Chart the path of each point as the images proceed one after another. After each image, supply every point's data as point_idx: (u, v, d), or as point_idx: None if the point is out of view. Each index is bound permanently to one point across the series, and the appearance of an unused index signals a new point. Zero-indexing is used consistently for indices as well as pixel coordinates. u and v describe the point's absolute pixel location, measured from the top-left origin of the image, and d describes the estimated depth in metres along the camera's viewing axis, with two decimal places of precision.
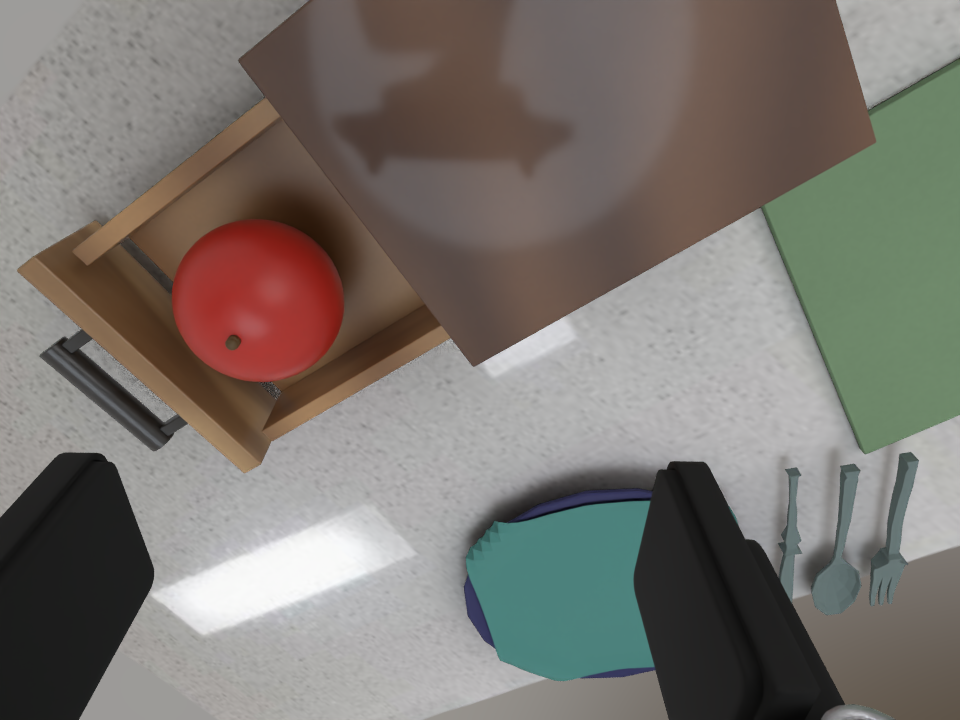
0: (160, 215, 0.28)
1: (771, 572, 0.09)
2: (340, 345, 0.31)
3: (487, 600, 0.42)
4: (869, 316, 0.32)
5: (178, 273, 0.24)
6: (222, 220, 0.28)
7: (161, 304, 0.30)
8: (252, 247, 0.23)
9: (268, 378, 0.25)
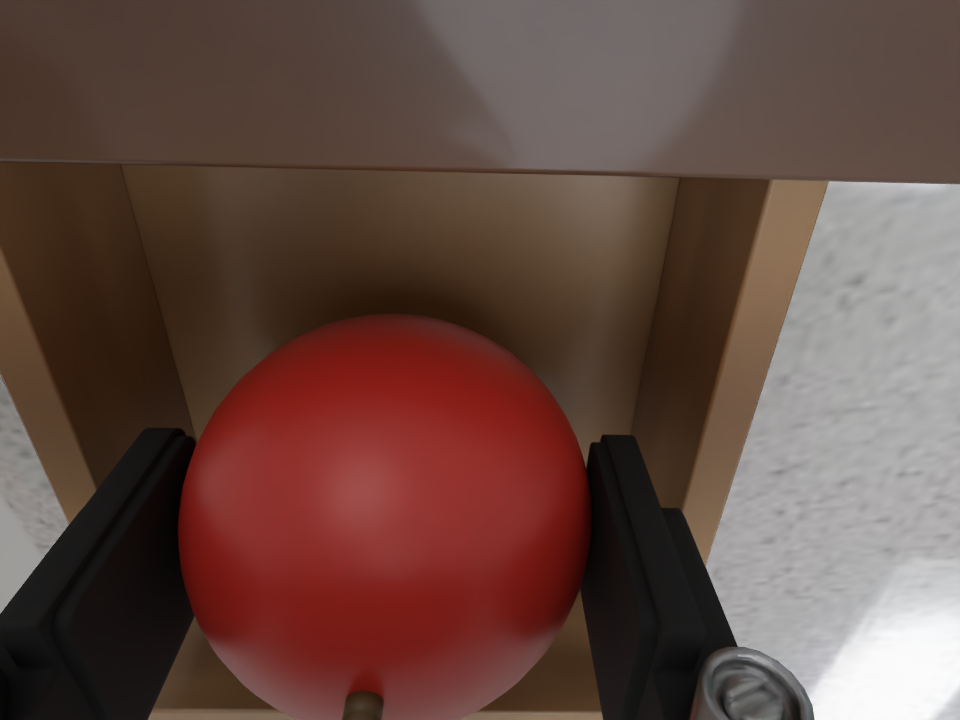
0: None
1: (688, 536, 0.09)
2: (614, 414, 0.14)
3: None
4: None
5: None
6: None
7: None
8: (214, 472, 0.08)
9: (531, 666, 0.09)
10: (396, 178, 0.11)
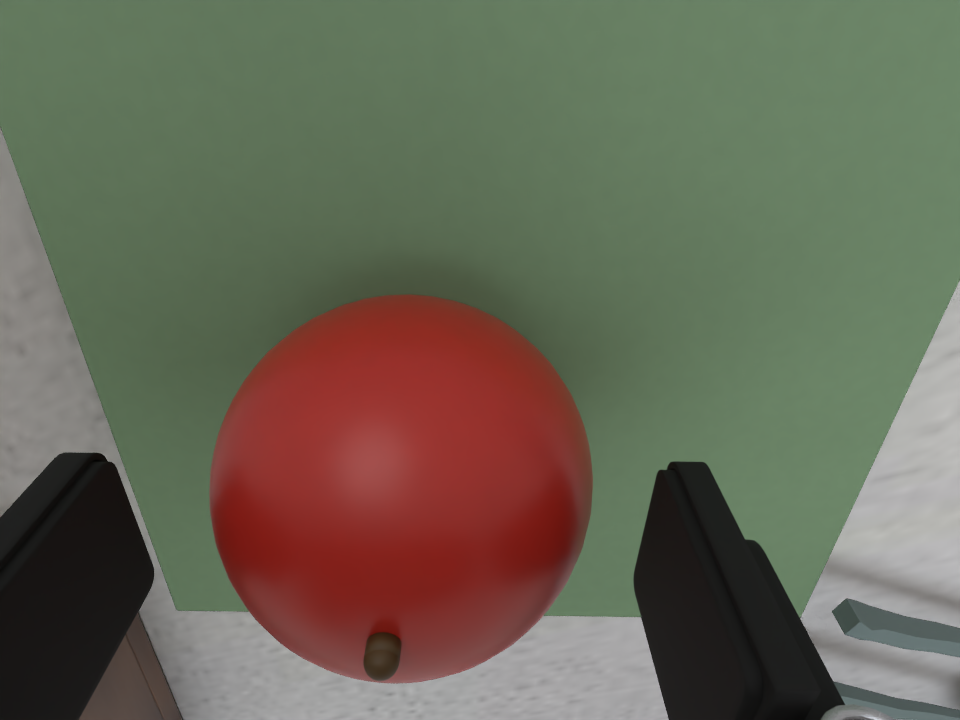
0: None
1: (771, 572, 0.09)
2: None
3: None
4: None
5: None
6: None
7: None
8: (245, 434, 0.09)
9: (535, 619, 0.10)
10: None
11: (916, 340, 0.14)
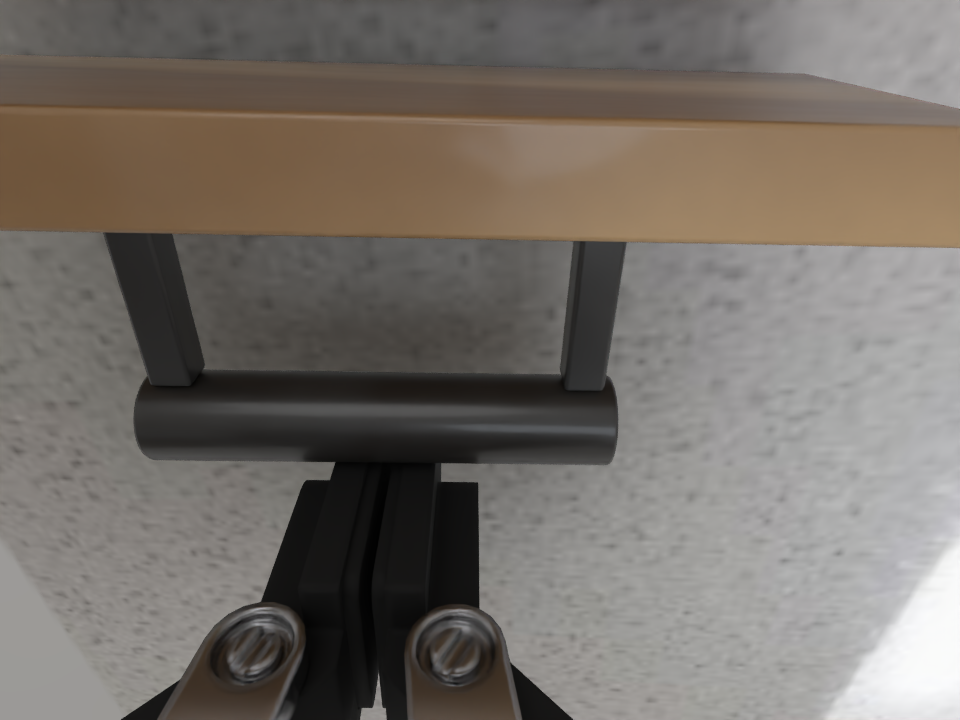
0: None
1: (474, 507, 0.10)
2: None
3: None
4: None
5: None
6: None
7: (242, 67, 0.09)
8: None
9: None
10: None
11: None
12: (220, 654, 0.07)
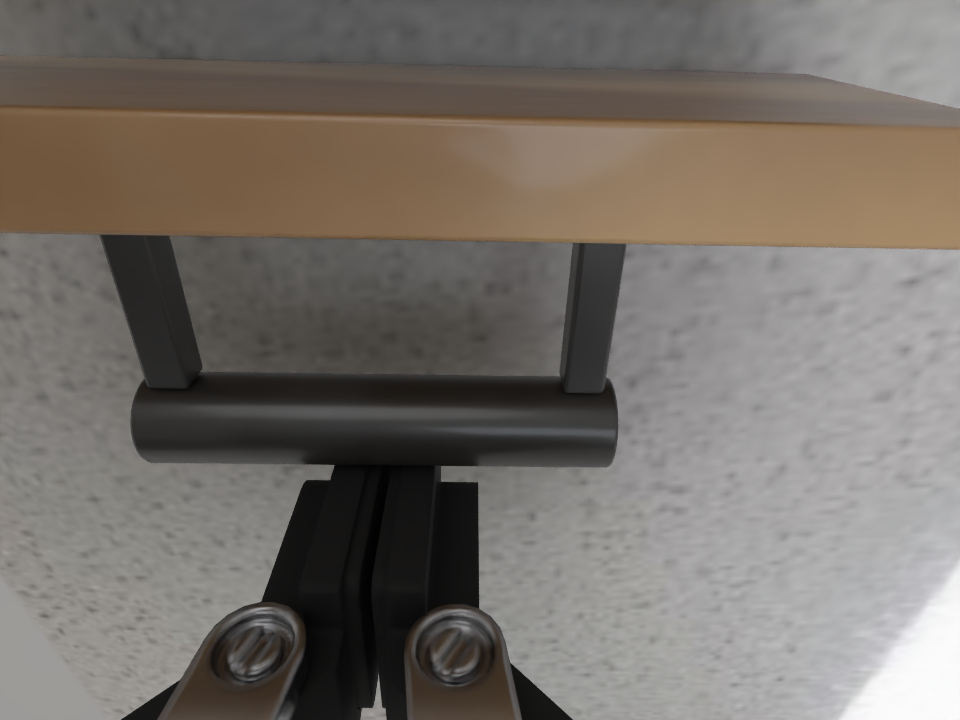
0: None
1: (473, 507, 0.10)
2: None
3: None
4: None
5: None
6: None
7: (239, 67, 0.08)
8: None
9: None
10: None
11: None
12: (221, 654, 0.07)
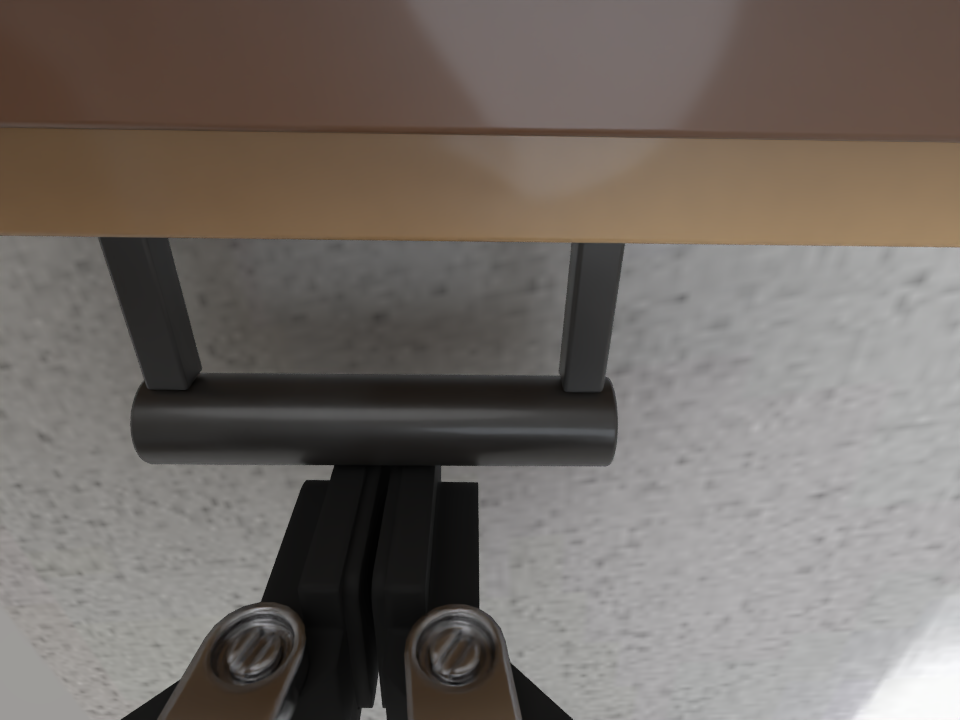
0: None
1: (474, 507, 0.10)
2: None
3: None
4: None
5: None
6: None
7: None
8: None
9: None
10: None
11: None
12: (220, 654, 0.07)
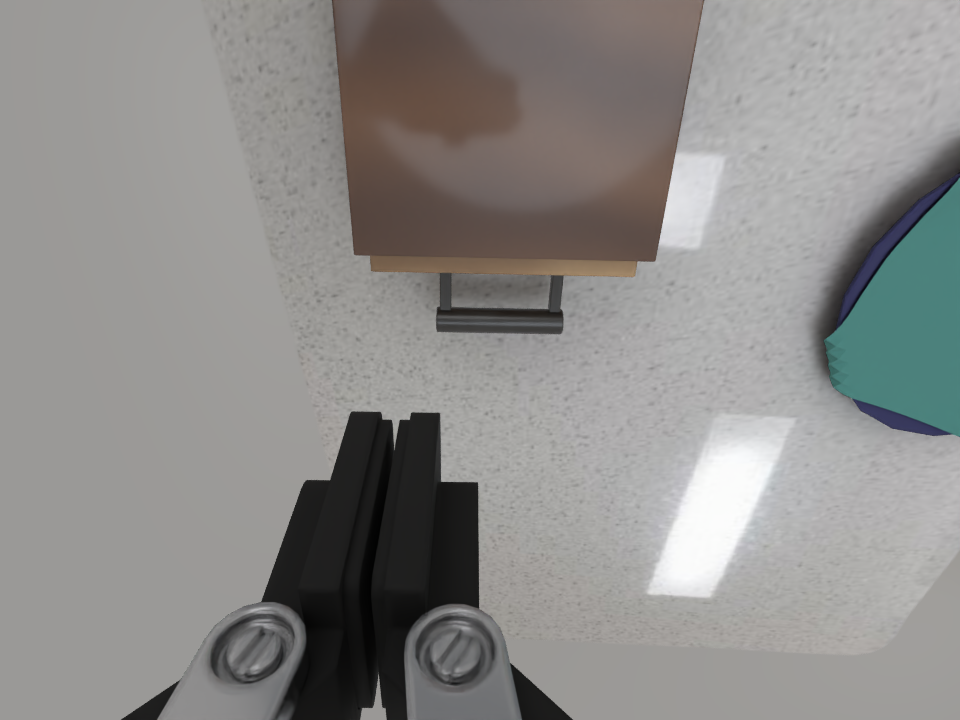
0: None
1: (474, 507, 0.10)
2: None
3: (895, 403, 0.40)
4: None
5: None
6: None
7: None
8: None
9: None
10: None
11: None
12: (220, 654, 0.07)
